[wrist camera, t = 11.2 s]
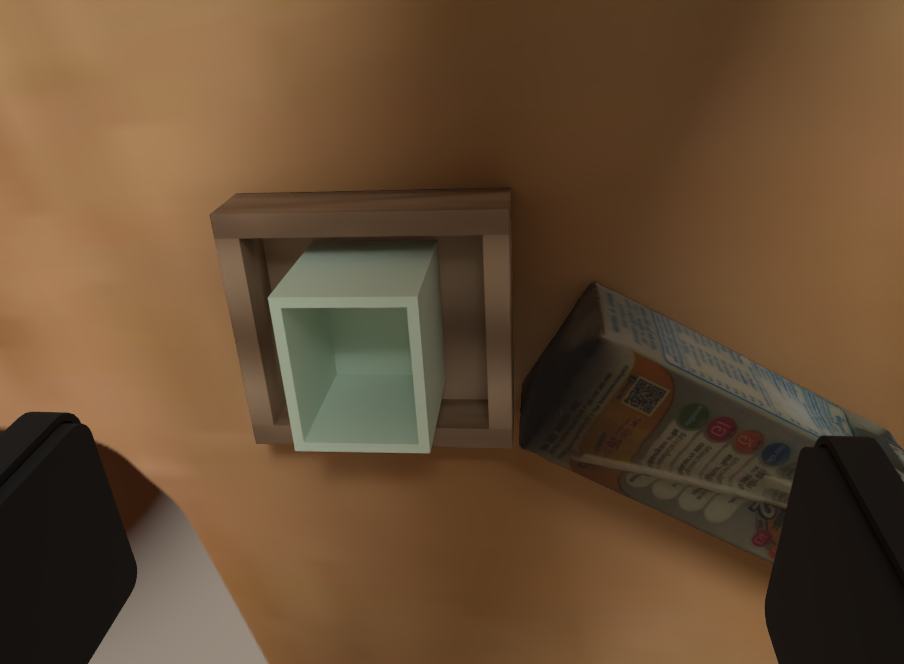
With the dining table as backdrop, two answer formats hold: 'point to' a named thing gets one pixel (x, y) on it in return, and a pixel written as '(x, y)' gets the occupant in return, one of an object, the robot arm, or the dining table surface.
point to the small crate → (362, 346)
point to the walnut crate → (381, 219)
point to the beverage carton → (677, 420)
